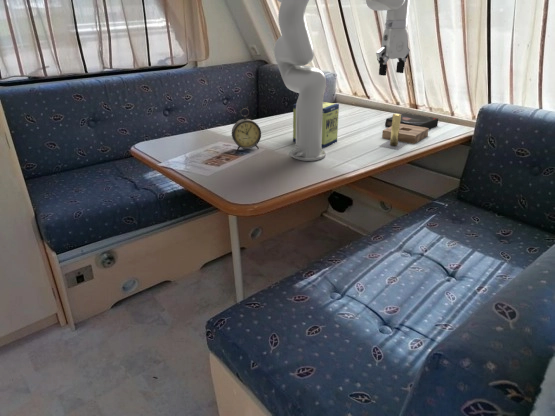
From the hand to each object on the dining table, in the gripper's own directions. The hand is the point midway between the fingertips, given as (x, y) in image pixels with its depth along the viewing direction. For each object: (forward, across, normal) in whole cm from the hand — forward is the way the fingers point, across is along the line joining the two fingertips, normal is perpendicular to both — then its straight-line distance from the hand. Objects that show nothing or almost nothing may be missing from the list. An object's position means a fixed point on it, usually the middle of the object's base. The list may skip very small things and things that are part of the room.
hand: (391, 73), depth 157 cm
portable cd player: (+27, +25, +7) cm, 37 cm away
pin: (+26, -3, -7) cm, 27 cm away
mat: (+26, -3, -7) cm, 27 cm away
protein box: (+26, -24, +16) cm, 39 cm away
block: (+26, +9, -3) cm, 28 cm away
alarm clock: (+26, -52, +24) cm, 63 cm away
